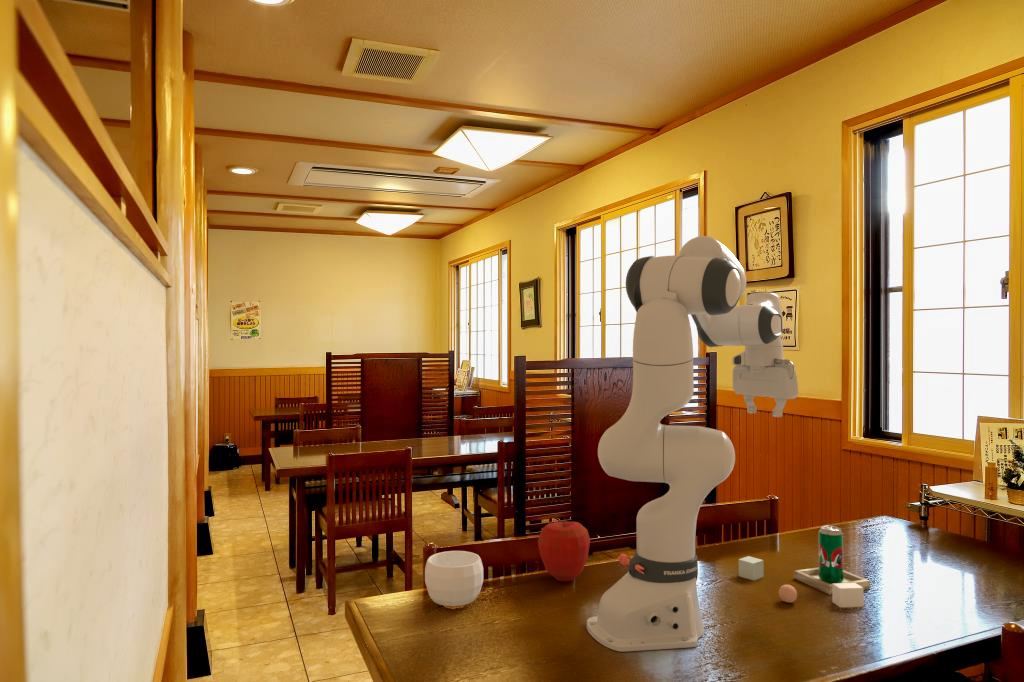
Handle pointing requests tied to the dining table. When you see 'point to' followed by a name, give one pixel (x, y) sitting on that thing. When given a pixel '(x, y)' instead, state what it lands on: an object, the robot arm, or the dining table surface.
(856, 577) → the tray
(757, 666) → the dining table surface
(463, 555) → the cup
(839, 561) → the soda can
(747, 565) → the sage block
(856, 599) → the cream block
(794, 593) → the terracotta ball
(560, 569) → the apple
